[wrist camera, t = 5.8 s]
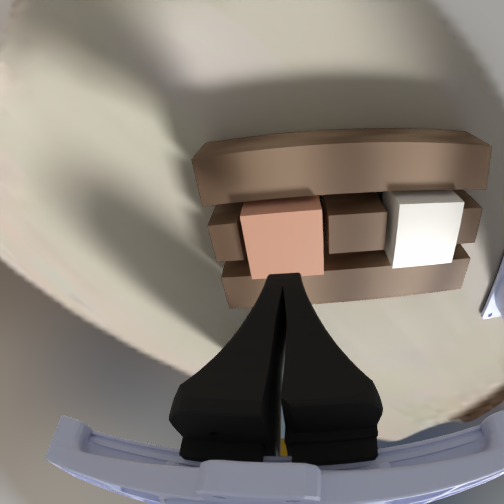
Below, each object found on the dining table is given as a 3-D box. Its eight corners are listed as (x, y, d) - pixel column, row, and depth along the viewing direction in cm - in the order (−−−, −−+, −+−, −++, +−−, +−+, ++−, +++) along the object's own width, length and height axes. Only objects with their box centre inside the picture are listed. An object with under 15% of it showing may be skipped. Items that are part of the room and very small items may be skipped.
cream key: (442, 180, 16) (464, 202, 13) (433, 235, 18) (451, 262, 16) (383, 181, 16) (399, 204, 14) (379, 239, 19) (392, 268, 16)
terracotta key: (316, 185, 17) (322, 209, 15) (319, 244, 19) (323, 274, 17) (246, 191, 18) (239, 216, 15) (256, 249, 20) (252, 279, 17)
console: (465, 131, 14) (491, 146, 12) (445, 262, 20) (460, 288, 18) (205, 143, 17) (191, 159, 14) (235, 278, 22) (229, 308, 20)
